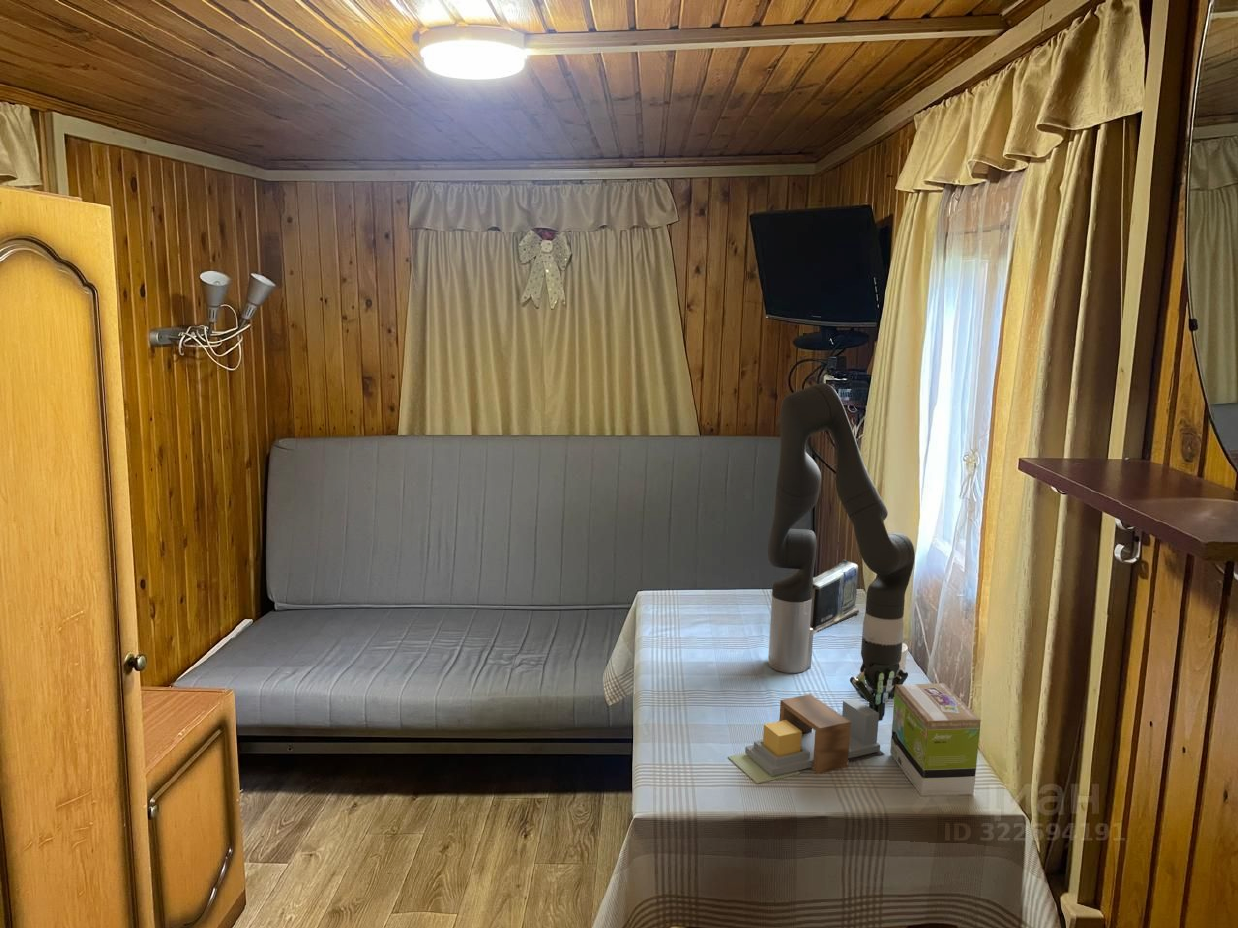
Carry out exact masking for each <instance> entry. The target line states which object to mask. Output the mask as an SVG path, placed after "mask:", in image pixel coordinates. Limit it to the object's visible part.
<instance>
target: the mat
mask: <svg viewBox="0 0 1238 928" xmlns="http://www.w3.org/2000/svg"><path fill="white" fill-rule="evenodd" d="M727 756H728V755H727ZM727 758H728V759H729V760H730V761H731V762H732V763H734V765H736V767H738V768H739V769H740V770H741V771H742V772H744V774H745V775H747V776H748V777H749V779H750V780H752V781H754V783H756V785H759V784H763V783H767V782H772V781H776V780H779V779H784V778H788V777H792V776H797V775H800V773H799V772H798V770H796V771H792V772H788V773H784V774H779V775H775V776H771V775H770V774H769V773H768V772H766V771H765V770H764V769H763V768H762V767H761V766H760V765H758V764H757V763H756V762H755V761H754V760H753V759H752V758H750V757H749V756H748V755H747V754H746V753H745V752H743V753H738V754H734V755H729V756H728V757H727Z"/></svg>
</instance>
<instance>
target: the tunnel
mask: <svg viewBox="0 0 1238 928" xmlns="http://www.w3.org/2000/svg"><path fill="white" fill-rule="evenodd" d="M779 703H780V706H779V719H778V720H779V721H783V720H787V721H789V722H790V723H791V724H793V725H794V726H795V727H797V728H798V729H799V730H801V731H802V734H807V733H811V732H813V730H814V732H815V743H814V758H813V767H812V772H813V773H814V774H815V775H817V774H818V775H819V774H823V773H827V772H832V771H836V770H840V769H844V768H848V767H849V766H848V765H849V761H848V755H849V742H850V728H851V721H849V720H848V719H846V718H845V717H843V716H842V714H841V713H839V712H838V711H836V710H834V709H833V708H832V707H830V706H829V705H827V704H826V703H825V702H823V701H821V700H820V699H818V698H817V697H816V696H814V695H812V694H805V695H799V696H794V697H789V698H784V699H780V702H779Z"/></svg>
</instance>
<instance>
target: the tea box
mask: <svg viewBox="0 0 1238 928" xmlns="http://www.w3.org/2000/svg"><path fill="white" fill-rule="evenodd" d="M892 712H893V713H892V724H891V738H890V752H889V753H890V755H891V756H892V757H893V759H894V760H895V762H896V763H897V765H898V766H899V767H900V768H901V770H902V771H903V772H904V774H905V775H906V777H907V779H909V781H910V782H911V783H912V785H913V787H914V788H915V789H916V790H917V792H918V794H919V795H920V796H921V797H940V796H941V797H942V796H944V797H946V796H963V795H964V796H966V795H967V796H968V795H974V794H975V793H974V792H975V783H976V772H977V763H978V752H979V742H980V733H981V721H982V720H981V719H980V717H979V716H977V714H975V713H974V712H973V711H972V710H971V709H970V708H969V707H968V706H967V705H966V704H965V703H964V702H963V701H962V700H961V699H960V698H959V697H958V696H957V695H956V694H955V693H954V692H953V691H952V690H951V688H949V686H947V685H946V684H945V683H944V682H942V683H940V682H939V683H938V682H937V683H912V684H910V683H908V684H907V683H906V684H905V683H903V684H902V685H897V684H896V685H895V694H894V698H893V711H892Z"/></svg>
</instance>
